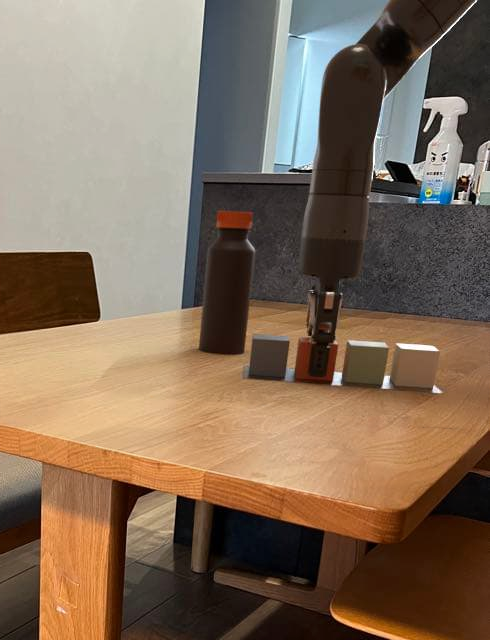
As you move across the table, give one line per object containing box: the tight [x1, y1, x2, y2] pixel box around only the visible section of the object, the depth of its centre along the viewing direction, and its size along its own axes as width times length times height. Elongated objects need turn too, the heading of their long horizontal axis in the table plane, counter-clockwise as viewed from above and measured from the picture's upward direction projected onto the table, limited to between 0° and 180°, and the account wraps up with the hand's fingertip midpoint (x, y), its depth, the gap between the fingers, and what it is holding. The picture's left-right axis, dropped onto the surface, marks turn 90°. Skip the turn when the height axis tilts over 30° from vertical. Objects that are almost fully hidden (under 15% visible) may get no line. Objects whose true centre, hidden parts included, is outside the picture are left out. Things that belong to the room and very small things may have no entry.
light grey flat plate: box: [242, 365, 444, 395], centre depth 110 cm, size 24×10×1 cm, turn 79°
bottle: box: [198, 210, 256, 356], centre depth 125 cm, size 7×7×20 cm
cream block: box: [389, 342, 441, 389], centre depth 108 cm, size 5×5×5 cm
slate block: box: [248, 333, 291, 378], centre depth 110 cm, size 5×5×5 cm
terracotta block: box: [294, 336, 339, 381], centre depth 109 cm, size 5×5×5 cm
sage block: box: [342, 339, 390, 385], centre depth 109 cm, size 5×5×5 cm
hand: (314, 370), depth 110 cm, fingers open, 7 cm apart
